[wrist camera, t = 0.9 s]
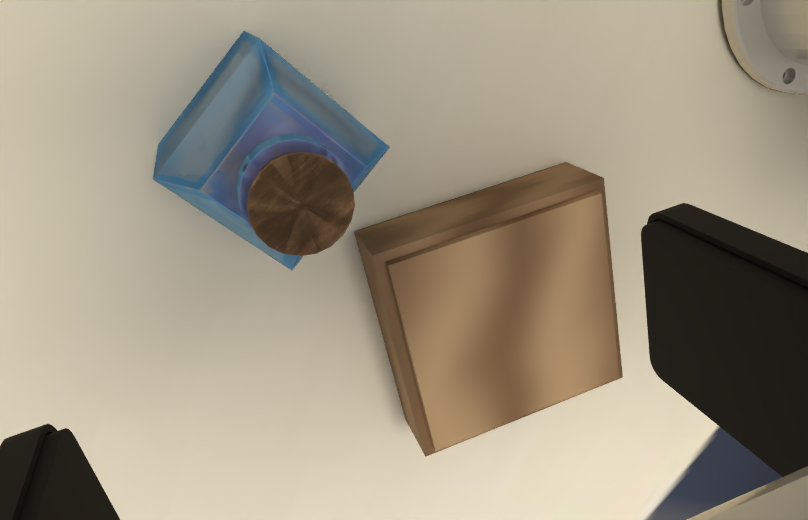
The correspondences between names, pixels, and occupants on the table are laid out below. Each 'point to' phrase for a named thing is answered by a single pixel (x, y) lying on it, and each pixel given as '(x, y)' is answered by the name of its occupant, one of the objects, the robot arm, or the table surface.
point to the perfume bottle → (268, 154)
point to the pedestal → (496, 302)
